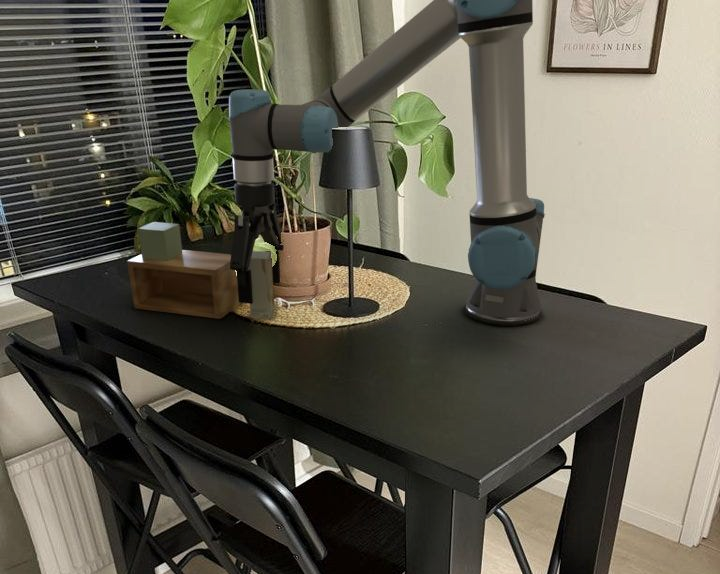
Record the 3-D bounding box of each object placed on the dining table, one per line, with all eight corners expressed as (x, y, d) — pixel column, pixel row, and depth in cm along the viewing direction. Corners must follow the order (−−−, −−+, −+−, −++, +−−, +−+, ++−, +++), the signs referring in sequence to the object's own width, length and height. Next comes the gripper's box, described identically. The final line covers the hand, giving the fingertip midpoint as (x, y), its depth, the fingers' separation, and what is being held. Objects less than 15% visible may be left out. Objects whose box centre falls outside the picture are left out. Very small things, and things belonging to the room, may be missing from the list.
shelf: (161, 292, 167) (155, 246, 162) (243, 301, 162) (239, 255, 157) (134, 308, 159) (126, 260, 153) (220, 319, 153) (215, 270, 148)
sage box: (157, 250, 160) (153, 221, 156) (182, 253, 158) (179, 223, 155) (142, 258, 155) (137, 228, 152) (167, 261, 153) (163, 230, 150)
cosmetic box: (271, 319, 153) (267, 259, 147) (250, 319, 153) (245, 259, 147) (275, 308, 159) (271, 250, 152) (254, 308, 159) (250, 249, 152)
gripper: (262, 169, 153) (268, 272, 165) (204, 193, 133) (215, 309, 144) (297, 171, 151) (300, 276, 163) (243, 197, 131) (251, 314, 143)
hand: (260, 292), depth 154 cm, fingers open, 13 cm apart
